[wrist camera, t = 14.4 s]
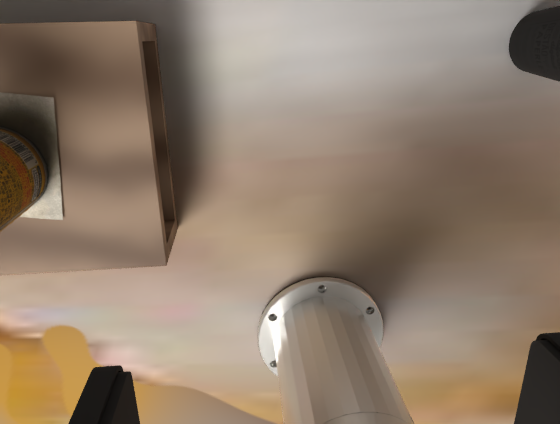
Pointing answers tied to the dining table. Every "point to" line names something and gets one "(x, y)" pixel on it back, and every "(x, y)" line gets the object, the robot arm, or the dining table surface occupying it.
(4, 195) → the condiment
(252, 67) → the dining table surface
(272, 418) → the dining table surface
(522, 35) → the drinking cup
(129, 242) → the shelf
